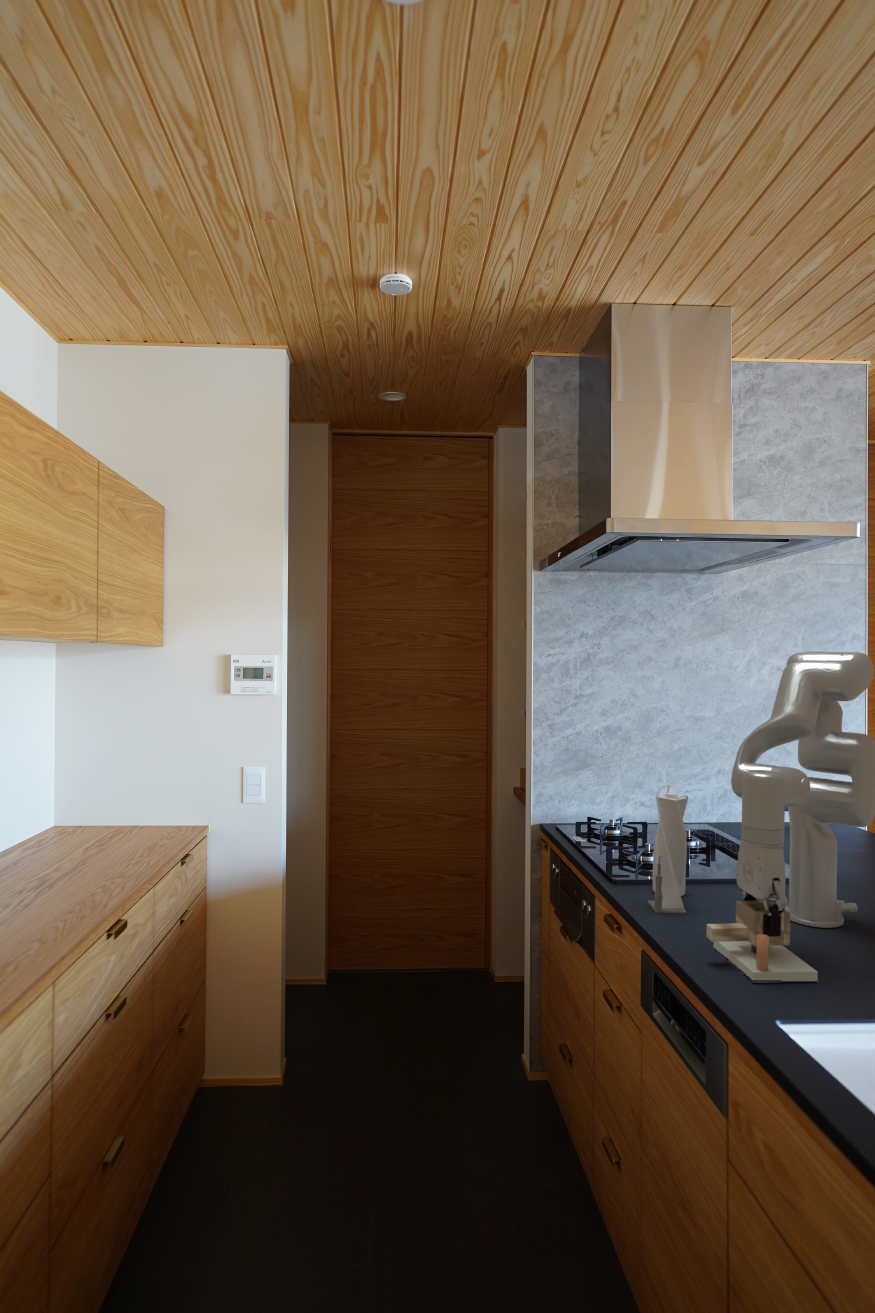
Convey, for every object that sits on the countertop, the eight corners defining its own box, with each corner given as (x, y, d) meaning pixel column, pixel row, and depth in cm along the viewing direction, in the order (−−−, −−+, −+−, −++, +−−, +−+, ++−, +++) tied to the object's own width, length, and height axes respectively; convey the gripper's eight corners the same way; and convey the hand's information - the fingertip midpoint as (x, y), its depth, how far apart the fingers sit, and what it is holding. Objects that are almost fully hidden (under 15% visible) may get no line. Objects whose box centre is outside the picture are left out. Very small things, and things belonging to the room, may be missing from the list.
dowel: (764, 966, 134) (765, 934, 134) (770, 971, 132) (771, 938, 132) (754, 967, 134) (754, 934, 134) (759, 971, 132) (760, 938, 132)
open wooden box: (769, 931, 145) (770, 900, 145) (789, 945, 138) (790, 913, 138) (701, 932, 143) (701, 901, 143) (717, 946, 137) (718, 914, 136)
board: (771, 947, 148) (771, 937, 148) (817, 983, 132) (817, 972, 132) (713, 948, 147) (713, 938, 147) (752, 983, 131) (753, 972, 131)
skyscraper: (646, 900, 176) (648, 783, 176) (680, 901, 175) (682, 784, 175) (655, 912, 167) (657, 789, 167) (691, 913, 167) (693, 790, 167)
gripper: (722, 825, 149) (720, 912, 149) (768, 847, 132) (766, 946, 132) (757, 825, 150) (756, 912, 150) (808, 847, 132) (806, 946, 133)
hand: (760, 927), depth 141 cm, fingers closed on open wooden box, 7 cm apart
